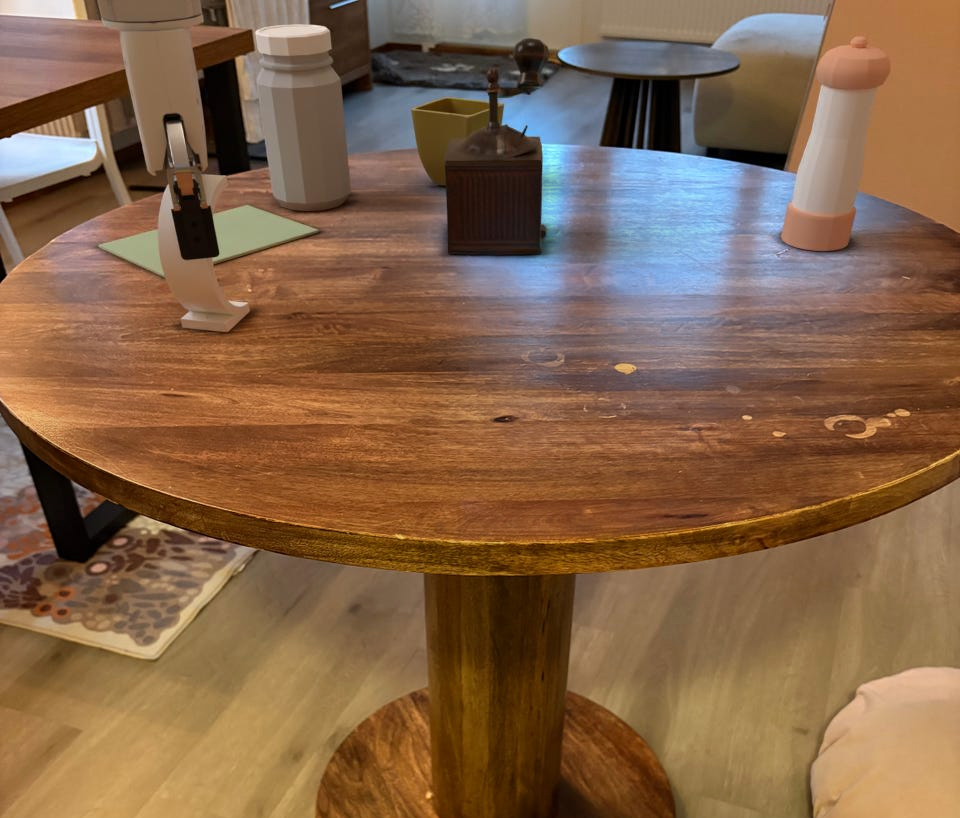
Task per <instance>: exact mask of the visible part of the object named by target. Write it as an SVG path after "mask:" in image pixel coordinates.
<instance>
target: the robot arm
mask: <svg viewBox="0 0 960 818" xmlns="http://www.w3.org/2000/svg"><path fill="white" fill-rule="evenodd" d="M96 1H97V6H98V10H99V14H100V19H101V23H102V27H103V28H104V29H108V30H111V31H118V34H119V40H120V47H121V48H120V49H121V53H122V54H121V55H122V59H123V65H124V69H125V70H124V71H125V74H126V79H127V84H128V89H129V92H130V98H131V102H132V106H133V111H134V117H135V119H136V124H137V129H138V133H139V138H140V142H141V145H142V146H141V147H142V151H143V155H144V161H145V166H146V170H147V172H148V173H149V174H150V175H152V176H153V177H157V174H158V172H159V171H163V170H165V176H166V178H167V185H168V184H169V189H170V194H171V199H172V204H173V208H174V209H171V212H172V217H173V221H174V226H175V231H176V235H177V240H178V244H179V249H180V254H181V257H182V259H184V260H194V259H204V258H214V257H218V256H219V247H218V242H217V237H216V232H215V226H214V221H213V216H212V210H211V206H207V200H206V195H205V190H204V185H203V180H202V174H203V172H205V171H206V169H207V168H208V167H209V162H208V147H207V136H206V125H205V119H204V110H203V103H202V97H201V90H200V84H199V78H198V71H197V66H196V61H195V54H194V48H193V44H192V37H191V32H190V27H196V26H199V25H201V24H204V15H203V11H202V5H201V0H96ZM164 168H165V169H164ZM194 177H196V180H195V179H192V178H194ZM174 179H177V180H174ZM198 193H199V195H198ZM199 197H200V200H199ZM200 204H201V205H200Z"/></svg>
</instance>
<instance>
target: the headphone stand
mask: <svg viewBox="0 0 960 818" xmlns="http://www.w3.org/2000/svg"><path fill="white" fill-rule="evenodd" d="M192 179H195V180H196V177H194V178H192ZM174 180H177V179H174ZM202 180H203V185H204V190H205V195H206V200H207V206H211V210H212V216H213V214H215V210H216V207H217V202H218V201H219V199H220V197H221V195H222V193H223V191H224V190H225V189H226V188H228V187H229V183H228V179H227V175H221V174H207V173H206V174H205V173H204V174H203V173H202ZM198 195H199V193H198ZM199 200H200V197H199ZM159 205H160V206H159V210H158V221H157V229H158V246H159V254H160V260H161V265H162V269H163V273H164V276H165V278H164V279H165V282H166V284H167V287H168V288H169V291H170V293H171V294H172V296H173V298H174V299H175V300H176V302H177V303H178V304H179V305H180V306H181V307H182V308H184V309H185V310H186V311H187V313H185V315H183V316H182V317H181V318H179V319H180V324H181V329H191V330H201V331H211V332H222V333H229V332H230V331H231V330H232V329H233V328H234V327H235V326H236V325H237V324H238V323H240V321H241V320H242V319H244V317H246V315H248V314H249V313H250V312H251V309H250V303H249V302H246V301H234V300H228V298H226V296H225V294H224V293H223V291H222V289H221V287H220V284H219V282H218V280H217V274H216V272H215V271H216V270H215V266H214V264H213V260H212V258H204V259H194V260H184V259H182V257H181V254H180V249H179V244H178V240H177V235H176V231H175V226H174V221H173V217H172V212H171V209H174V208H173V204H172V199H171V194H170V189H169V184H168V183H167V185H166V187H165V189H164V192H163V195H162V198H161V202H160V204H159ZM200 205H201V204H200Z"/></svg>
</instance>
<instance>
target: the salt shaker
mask: <svg viewBox="0 0 960 818" xmlns="http://www.w3.org/2000/svg"><path fill="white" fill-rule="evenodd" d="M868 41H869V40H868V38H866V37H865V36H860V35H859V36H858V35H857V36H855V37H853V38H852V39H851V40H850V42H849V43H850V44H845V45H843V44H842V45H839V46H836V47H834V48H831V49H829V50H827V51H826V52H825V53H824V55H823V56H821V58H820V59H819V61H818V63H817V66H816V68H815V72H816V73H815V74H816V79H817V81H818V82H819V83H820V84H821V86H820V90H819V93H818V98H817V103H816V108H815V112H814V116H813V122H812V127H811V131H810V134H809V136H808V140H807V143H806V146H805V148H804V151H803V154H802V157H801V160H800V163H799V165H798V168H797V170H796V177H795V182H794V187H793V188H794V189H793V193H792V199H791V201H789V202H788V205H787V206H786V211H785V216H784V221H783V224H782V230H781V234H780V239H781V241H782V242H783V243H785V244H786V245H788V246H791V247H794V248H798V249H801V250H806V251H814V252H829V251H831V252H832V251H837V250H841V249H844V248H846V247H847V246H848V245H849V243H850V238H851V233H852V230H853V226H854V222H855V218H856V214H857V208H856V207H855V203H856V198H857V195H858V193H859V188H860V185H861V181H862V179H863V174H864V173H863V171H864V162H865V153H866V142H867V134H868V130H869V125H870V121H871V116H872V112H873V108H874V105H875V100H876V96H877V91H878V87H881V86H883V85H884V84H885V82H886V81H887V79H888V77H889V75H890V73H891V61H890V58H889V55H888V54H887V53H885V52H884V51H882V50H881V49H880V48H878V47H876V46H871V45H868V43H869V42H868Z"/></svg>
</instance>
